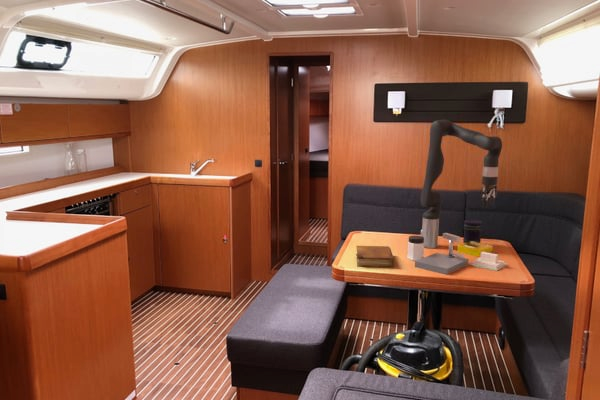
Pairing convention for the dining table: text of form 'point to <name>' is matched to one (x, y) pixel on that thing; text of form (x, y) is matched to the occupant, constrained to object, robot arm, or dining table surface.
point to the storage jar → (472, 231)
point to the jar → (415, 248)
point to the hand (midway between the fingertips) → (488, 206)
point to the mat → (489, 267)
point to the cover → (489, 260)
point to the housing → (441, 263)
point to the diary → (374, 256)
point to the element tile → (474, 248)
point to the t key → (451, 239)
